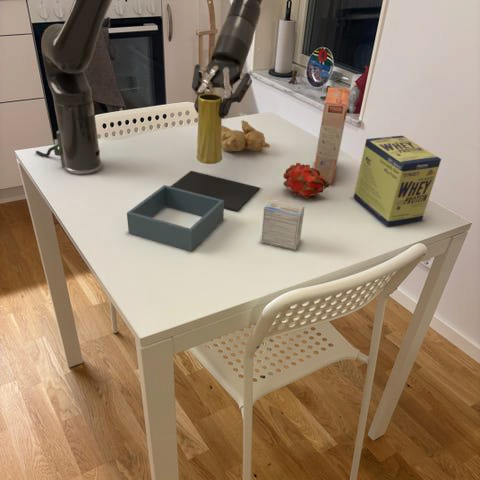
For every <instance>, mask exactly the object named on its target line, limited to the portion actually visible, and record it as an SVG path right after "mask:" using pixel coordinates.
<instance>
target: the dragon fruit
mask: <svg viewBox="0 0 480 480" xmlns="http://www.w3.org/2000/svg"><path fill="white" fill-rule="evenodd" d="M317 173H318V174H317ZM319 174H320V172H319V171H318V170H317V169H314V166H313V167H311V165H310V164H308V163H307V164H306V165H305V164H304V163H301V162H295V164H291V165H290V166H289V167H288V168H286V169H285V172H284V173H283V179H285V181H284V182H283V185H284V187H286V188H290V190H291V191H292V193H293V194H294V197H298V196H303V197H304V198H307V199H311V200H312V199H316V198H318V197H317V196H315V195H317V194H320V193H322V194H323V193H324V190H326V189H327V188H330V186H329V185H330V184H329V183H328V181H327V179H325V178H324V177H321V176H320V175H319Z"/></svg>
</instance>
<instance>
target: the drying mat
mask: <svg viewBox="0 0 480 480" xmlns="http://www.w3.org/2000/svg"><path fill="white" fill-rule="evenodd" d="M169 186H170V185H169ZM170 187H174V188H177V189H181V190H185V191H189V192H193V193H197V194H201V195H205V196H209V197H212V198H216V199H220V200H224V209H225V210H229V211H233V212H237V213H238V212H239V211H240V210H241V209H242V208H243V207H244V206H245V205H246V204H247V203H248V202H249V201H250V200H251V199H252V198H253V196H255V195H256V193H258V192H259V190H260V187H259V186H255V185H251V184H247V183H244V182H243V183H242V182H238V181H235V180H230V179H226V178H222V177H218V176H214V175H210V174H207V173H201V172H198V171H193V170H190V171H189V172H188V173H186V174H185V175H184V176H182V177H181V178H180V179H178V180H177V181H176V182H174V183H173V184H171V186H170Z"/></svg>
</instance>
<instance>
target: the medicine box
mask: <svg viewBox="0 0 480 480" xmlns="http://www.w3.org/2000/svg"><path fill="white" fill-rule="evenodd" d="M304 215H305V206H304V205H300V204H295V203H290V202H286V201H281V200H275V199H269V200H268V202H267V203H266V204H265V206H264V207H263V214H262V226H261V237H260V238H261V239H260V243H261V244H266V245H272V246H274V247H275V246H276V247H280V248H284V249H290V250H293V251H296V249H297V247H298V246H299V243H300V241H301V236H302V228H303V223H304V222H303V221H304Z"/></svg>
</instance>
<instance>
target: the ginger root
mask: <svg viewBox="0 0 480 480" xmlns="http://www.w3.org/2000/svg"><path fill="white" fill-rule="evenodd" d="M240 123H241V130H237V129H231V128H229V127H227V126H225V125H221V135H222V151H226V152H230V153H231V152H240V151H242V150H250V151H252V152H258V151H261V150H262V149H263V148H266V149H267V148H270V146H271V145H270V144H269V143H267V142H266V137H265V134H264V133H263V132H262V131H259V130H257V129H255V128H254V127H253V126H251V124H249V122H248V121H246V120H241V121H240Z"/></svg>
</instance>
